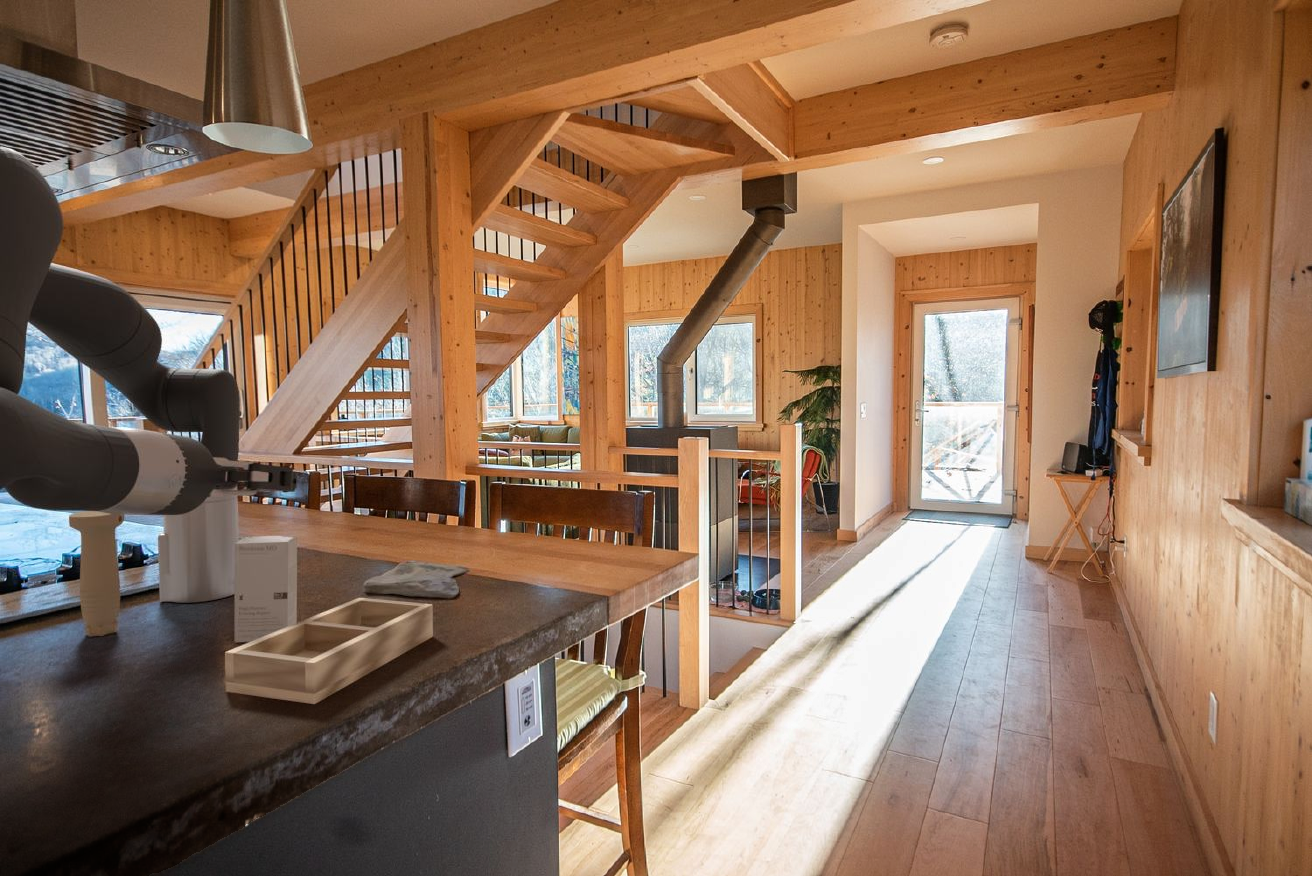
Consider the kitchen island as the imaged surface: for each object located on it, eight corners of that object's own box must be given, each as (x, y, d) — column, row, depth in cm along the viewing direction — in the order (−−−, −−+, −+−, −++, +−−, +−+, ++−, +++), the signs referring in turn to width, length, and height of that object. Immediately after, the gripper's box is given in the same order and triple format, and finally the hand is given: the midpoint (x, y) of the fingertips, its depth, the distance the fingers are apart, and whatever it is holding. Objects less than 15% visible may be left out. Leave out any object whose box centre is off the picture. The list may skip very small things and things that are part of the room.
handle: (63, 643, 83) (58, 517, 82) (94, 626, 90) (89, 509, 89) (110, 640, 84) (105, 516, 83) (137, 623, 91) (133, 508, 90)
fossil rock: (400, 571, 121) (400, 558, 121) (487, 573, 120) (487, 559, 120) (353, 600, 103) (353, 584, 103) (454, 602, 103) (454, 586, 103)
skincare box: (233, 644, 83) (230, 543, 83) (246, 632, 88) (243, 535, 87) (289, 640, 85) (287, 541, 84) (300, 628, 89) (297, 534, 88)
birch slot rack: (314, 704, 67) (313, 663, 67) (226, 691, 70) (224, 652, 70) (432, 636, 87) (432, 604, 86) (359, 628, 89) (359, 597, 89)
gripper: (222, 429, 63) (319, 448, 79) (70, 431, 63) (197, 449, 80) (216, 514, 62) (316, 515, 78) (62, 515, 63) (192, 516, 79)
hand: (256, 482), depth 79 cm, fingers open, 8 cm apart
